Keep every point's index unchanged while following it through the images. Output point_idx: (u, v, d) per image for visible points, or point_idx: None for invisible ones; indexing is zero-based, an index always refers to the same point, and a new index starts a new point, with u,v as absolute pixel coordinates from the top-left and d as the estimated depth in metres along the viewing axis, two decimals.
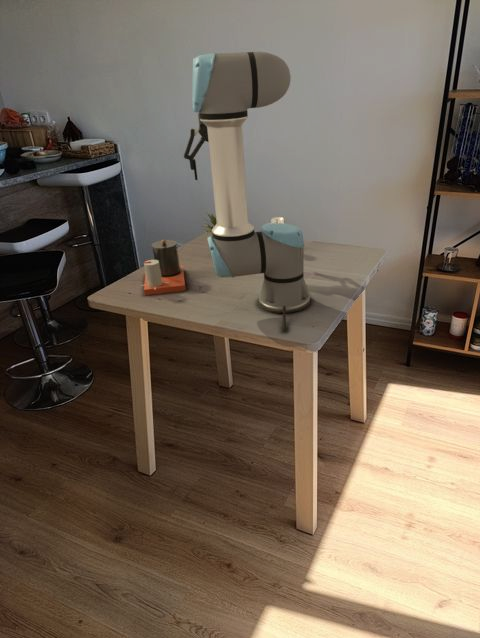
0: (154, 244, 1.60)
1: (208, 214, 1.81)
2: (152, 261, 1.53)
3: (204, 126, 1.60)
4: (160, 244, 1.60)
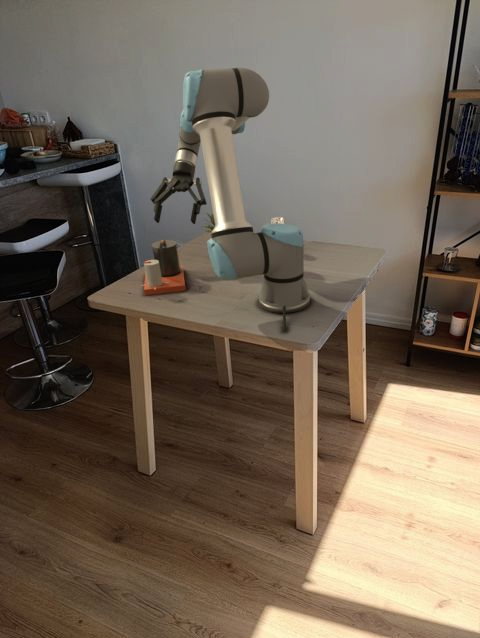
0: (154, 244, 1.60)
1: (208, 214, 1.81)
2: (152, 261, 1.53)
3: (176, 176, 1.69)
4: (160, 244, 1.60)
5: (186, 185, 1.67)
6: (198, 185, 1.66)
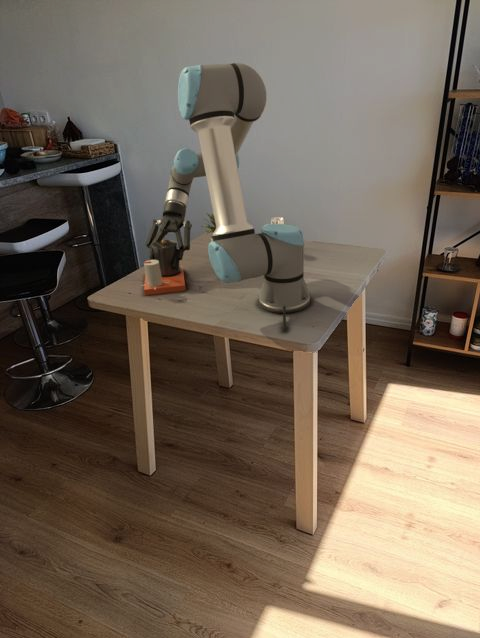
0: (154, 244, 1.60)
1: (208, 214, 1.81)
2: (152, 261, 1.53)
3: (166, 216, 1.64)
4: (160, 244, 1.60)
5: (174, 227, 1.62)
6: (186, 229, 1.61)
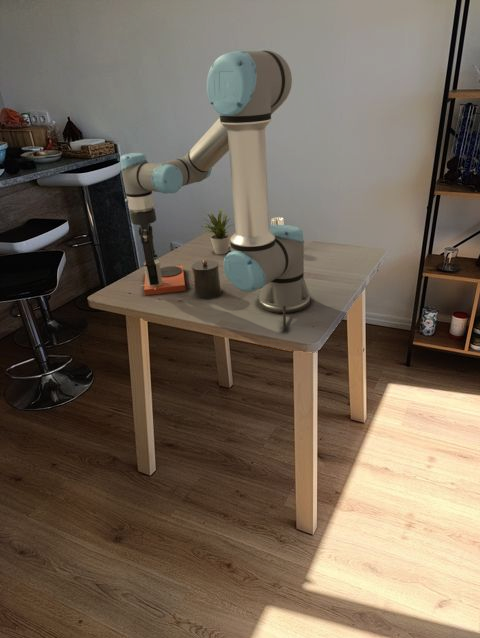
0: (194, 265, 1.48)
1: (208, 214, 1.81)
2: None
3: None
4: (201, 265, 1.48)
5: (152, 235, 1.50)
6: None
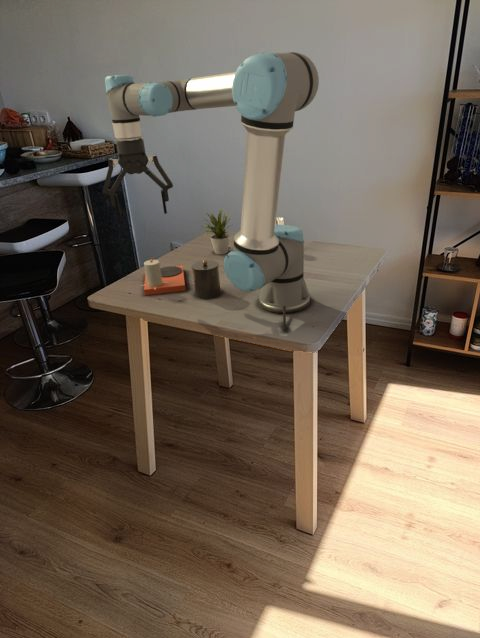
0: (194, 265, 1.48)
1: (208, 214, 1.81)
2: (153, 262, 1.52)
3: (124, 156, 1.35)
4: (201, 265, 1.48)
5: (144, 170, 1.37)
6: (159, 167, 1.38)
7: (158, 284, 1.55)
